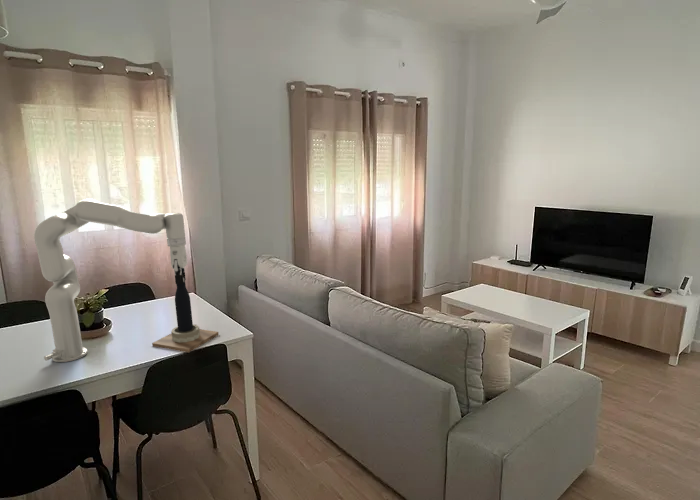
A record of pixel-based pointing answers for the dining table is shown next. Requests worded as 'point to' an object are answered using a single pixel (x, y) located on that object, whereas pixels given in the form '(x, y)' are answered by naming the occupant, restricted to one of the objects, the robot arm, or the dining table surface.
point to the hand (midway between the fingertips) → (180, 281)
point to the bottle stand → (185, 339)
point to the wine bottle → (183, 307)
